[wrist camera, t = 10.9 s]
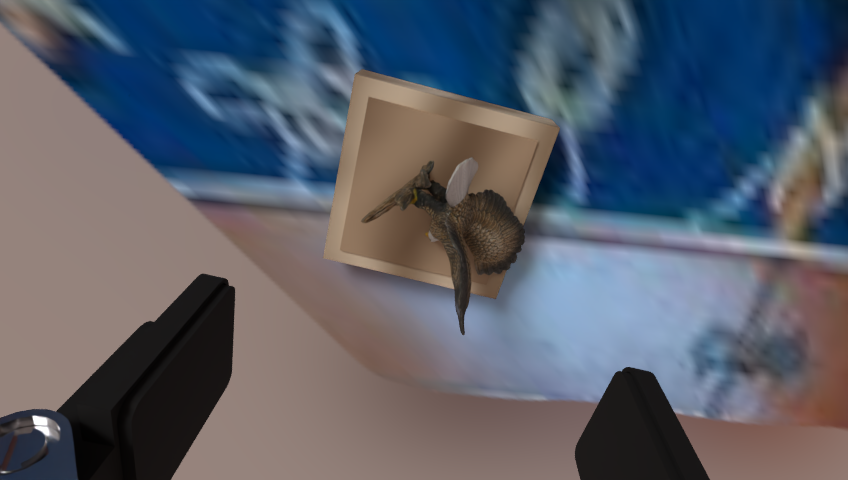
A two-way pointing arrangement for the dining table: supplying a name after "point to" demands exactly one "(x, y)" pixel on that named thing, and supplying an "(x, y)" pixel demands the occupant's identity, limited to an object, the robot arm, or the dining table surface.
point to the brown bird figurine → (462, 225)
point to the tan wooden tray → (414, 147)
